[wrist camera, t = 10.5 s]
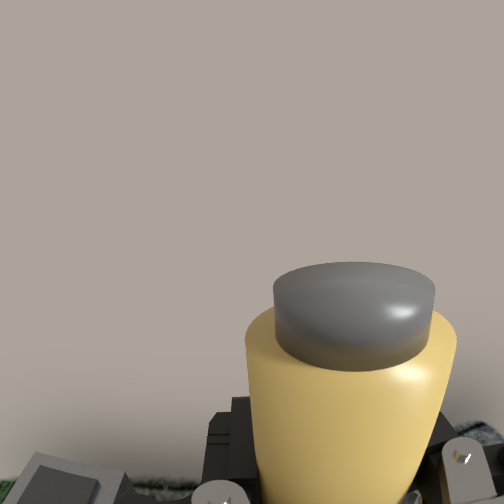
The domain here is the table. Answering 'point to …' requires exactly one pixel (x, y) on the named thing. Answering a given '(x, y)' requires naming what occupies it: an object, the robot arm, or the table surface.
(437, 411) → the cylinder
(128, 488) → the unit
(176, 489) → the table surface
